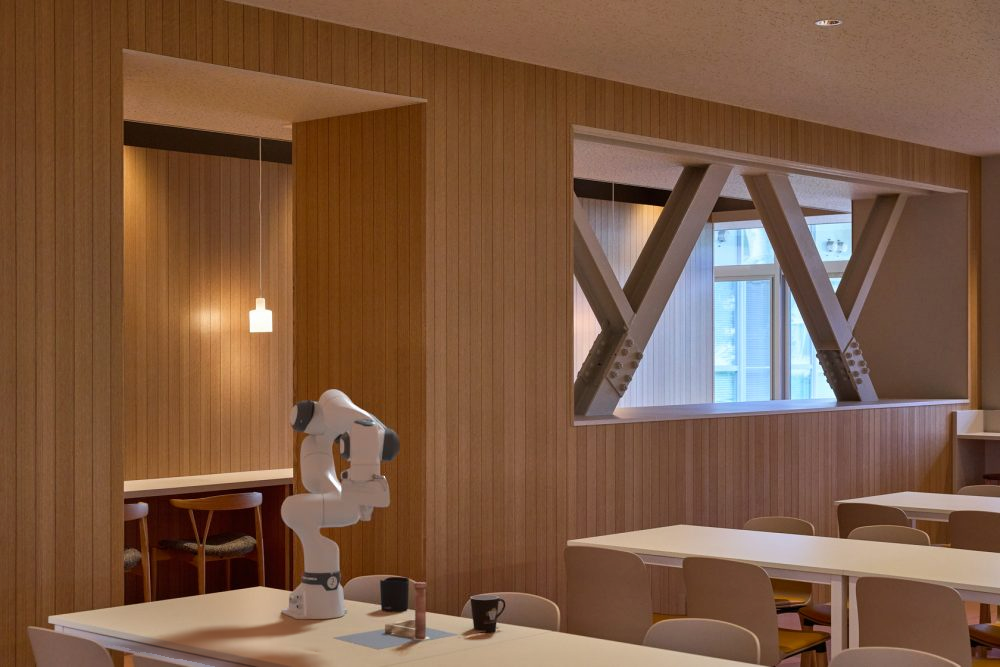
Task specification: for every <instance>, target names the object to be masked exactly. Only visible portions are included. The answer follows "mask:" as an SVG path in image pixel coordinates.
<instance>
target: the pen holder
mask: <svg viewBox="0 0 1000 667" xmlns="http://www.w3.org/2000/svg"><path fill="white" fill-rule="evenodd" d="M379 582H380V583H379V584H380V585H379V586H380V587H379V588H380V606H381V607H380V608H381V610H382V612H387V613H399V612H405V611H408V609H409V592H410V591H409V588H410V579H409V578H408V577H405V576H401V577H400V576H390V577H387V578H385V579H383V580H382V579H380V580H379Z"/></svg>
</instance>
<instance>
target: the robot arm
mask: <svg viewBox="0 0 1000 667" xmlns="http://www.w3.org/2000/svg"><path fill="white" fill-rule="evenodd" d="M289 424H290V426H291V428H292V429H293V430H294V431H295V432H298V433H304V434H307V436H305V437H304V439H302V443H301V446H300V456H299V457H300V459H299V461H300V473H301V476H300V477H301V483H302V485H303V487H304V488H305V489H306V490H307V491H308V493H307V492H306V493H299V494H294V495H289V496H287V497H286V498H285V499H284V500H283V502H282V505H281V508H280V515H281V519H282V521H283V522H284V524H285V526H287V527H289V528H290V529H292V530H293V531H294V532H295V534H296V535H297V537H298V538H299V540H300V542H301V545H302V549H303V557H304V560H303V561H304V571H303V572H300V573H299V574H300V575H299V577H301V581H300V584H299V585H298V586H297V587H296V588H295V589H294V590H293V591H291V593H290V594H289V597H288V598H289V599H288V607H284V608H282V609H281V614H284V615H286V616H288V617H291V618H293V619H297V620H310V619H311V620H323V619H334V618H340V617H343V616H345V614H346V613H348V609H347V608H346V607H345V597H344V588H343V586H342V585H341V581H342V579H341V578H342V574H341V570H340V548H339V546H338V543H336V541H334V540H332V539H330V538H328V537H326V536H324V535H322V534H321V531H320V529H322V528H343V527H347V526H351V525H356V524H357V523H358V522H359V520H360V521H364V522H370V521H372V520H371V519H372V513H373V511H374V508H388V507H389V506H390V503H391V499H390V498H391V497H390V495H391V494H390V487H389V483H388V481H387V479H386V477H385V476H384V475H383V474H382V475H381V462H388V463H389V462H391V461H393V460H394V459H395V458H396V457H398V455H399V453H400V450H401V442H400V438H399V435H398V434H397V433H396V431H394V430H393V429H392V428H388V427H387V426H386V425H385V424H383V422H381V421H380V420H379V419H378V418H377V417H376V416H375V415H373V414H372V413H370V412H368V411H366V410H364V409H362V408H360V407H359V406H357V405H355V403H353V401H352V400H351V399H350V397H349V396H348V395H347V394H346V393H344V392H343V391H342V390H340V389H339V390H338V389H334V388H332V389H328V390H326V391H324V392H323V393H322V394H321V395H320V397H319V399H318V401H313V400H312V399H307V400H301V401H298V402H296V403H295V404H294V405H293V406H292V408H291V411H290V415H289ZM334 443H335V444H336V445H338V446H339V447H338V448H339V449H338V452H339V456H341V457H342V459H344V460H345V461H347V462H350V467H349V468H348V469H345V470H343V471H341V472H340V479H341V482H340V481H339V478H338V477H337V473H336V466H335V461H334V454H333V444H334ZM380 461H381V462H380ZM309 492H310V493H309Z"/></svg>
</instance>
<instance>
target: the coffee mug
mask: <svg viewBox="0 0 1000 667" xmlns="http://www.w3.org/2000/svg"><path fill="white" fill-rule="evenodd" d="M469 599H470V607H471V615H472V623H473V629H474V630H475V631H479V632H477V633H478V634H491V633H495V632H496V630H497V622H498V618H499V616H501V614H503V612H504V610H505V608H506V601H505V600H504V599H502V598H500V597H499V596H498V595H492V594H477V595H473V596H470V598H469ZM499 602H502V604H503V606H502V608H501V610H500V611H499ZM498 611H499V612H498Z"/></svg>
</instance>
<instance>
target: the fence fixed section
mask: <svg viewBox="0 0 1000 667" xmlns="http://www.w3.org/2000/svg"><path fill="white" fill-rule="evenodd" d="M392 625H398V626H404V627H410V628H415V618H411V619H405V620H402V621H396V622H393V623H385V624H384V629H385V633H386V634H391V633H392Z"/></svg>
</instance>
